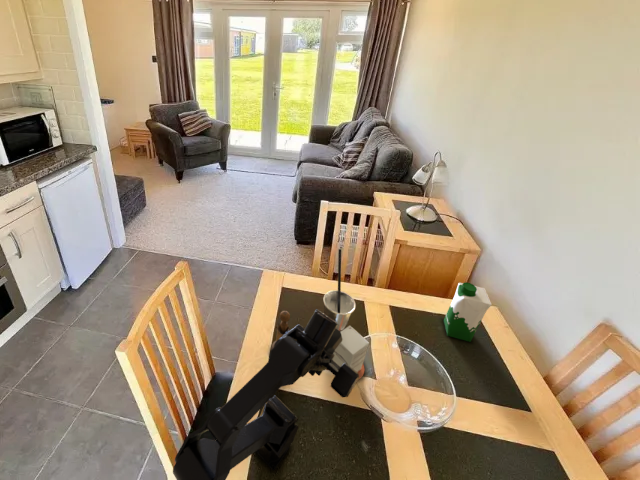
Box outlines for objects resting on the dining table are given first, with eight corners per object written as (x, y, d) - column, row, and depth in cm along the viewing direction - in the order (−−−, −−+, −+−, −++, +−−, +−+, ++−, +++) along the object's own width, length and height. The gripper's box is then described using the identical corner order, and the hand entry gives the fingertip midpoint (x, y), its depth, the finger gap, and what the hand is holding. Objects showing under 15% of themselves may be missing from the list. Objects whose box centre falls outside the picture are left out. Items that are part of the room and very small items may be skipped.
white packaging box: (327, 363, 97) (333, 335, 92) (343, 351, 101) (350, 324, 95) (345, 383, 92) (352, 355, 86) (361, 369, 96) (370, 342, 90)
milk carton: (440, 317, 115) (458, 275, 106) (468, 324, 113) (489, 282, 103) (444, 337, 108) (464, 294, 98) (474, 345, 105) (498, 302, 96)
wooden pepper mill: (290, 364, 97) (295, 324, 89) (269, 360, 98) (272, 319, 90) (292, 346, 103) (297, 306, 94) (272, 342, 104) (276, 302, 95)
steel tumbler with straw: (326, 314, 115) (339, 247, 101) (354, 333, 108) (372, 265, 94) (308, 331, 108) (319, 262, 94) (337, 353, 101) (353, 282, 87)
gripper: (362, 355, 67) (378, 357, 79) (297, 303, 79) (319, 311, 91) (335, 401, 66) (355, 397, 78) (273, 341, 78) (298, 345, 90)
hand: (331, 359), depth 84 cm, fingers open, 9 cm apart
